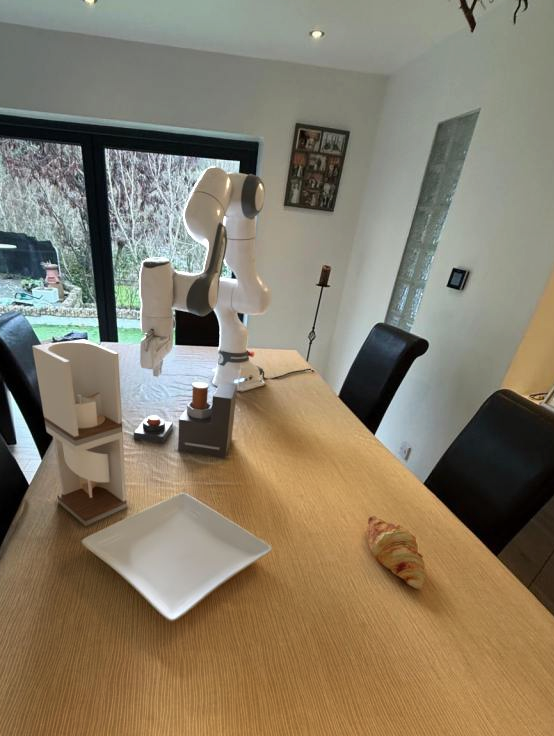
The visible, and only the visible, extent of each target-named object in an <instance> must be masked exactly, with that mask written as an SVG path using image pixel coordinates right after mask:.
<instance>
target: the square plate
mask: <svg viewBox="0 0 554 736" xmlns="http://www.w3.org/2000/svg"><path fill="white" fill-rule="evenodd" d="M81 543H82V545H83V546H84V547H85V548H86V549H87V550H88V551H90V552H91V553H92V554H94V555H95V556H96V557H98V558H99V559H100V560H102V561H103V562H104V563H105V564H107V565H108V566H109V567H110V568H111V569H113V570H114V571H115V572H116V573H118V575H120V576H121V577H122V578H123V579H124V580H125V581H126V582H127V583H128V584H129V585H130V586H131V587H132V588H133V589H134V590H136V592H138V594H139V595H140V596H141V597H142V598H144V599H145V600H146V602H148V604H149V605H151V607H152V608H153V609H155V610H156V611H157V613H159V614H160V615H161V616H162V617H163V618H165V619H166V620H167V621H169V622H174V621H176V620H178V619H180V618H181V617H183V616H184V615H185V614H187V613H188V612H189V611H191V610H192V609H193V608H194V607H195V606H197V605H198V604H199V603H200V602H201V601H203V600H204V599H205V598H206V597H208V596H209V595H210V594H211V593H213V592H214V591H215V590H216V589H218V588H219V587H220V586H221V585H223V584H224V583H226V582H227V581H228V580H230V579H232V578H233V577H234V576H236V575H237V574H238V573H240V572H242V571H244V570H245V569H246V568H248V567H249V566H251V565H253V564H255V563H256V562H258V561H259V560H260V559H262V558H263V557H265V556H267V555H268V554H270V553H271V551H272V550H273V546H271V544H269V543H267V542H266V541H265V540H263V539H261V538H260V537H258V536H256V535H255V534H253V533H251V532H250V531H249V530H247V529H246V528H244V527H242V526H240V525H239V524H238V523H236V522H234V521H232V520H231V519H229V518H228V517H226V516H224V515H223V514H221V513H219V512H218V511H217V510H215V509H213V508H211V507H210V506H208V505H207V504H205V503H204V502H202V501H200V500H199V499H198V498H197V499H196V498H195V497H193V496H192V495H190V494H188V493H186V492H180V493H177V494H175V495H173V496H171V497H168V498H167V499H165V500H162V501H160V502H158V503H155V504H153V505H151V506H149V507H147V508H144V509H143V510H141V511H139V512H136V513H134V514H132V515H130V516H127V517H125V518H123V519H121V520H119V521H117V522H114V523H112V524H111V525H109V526H107V527H104V528H103V529H100V530H98V531H96V532H94V533H92V534H90V535H88V536H86V537H84V538H83V539H81Z"/></svg>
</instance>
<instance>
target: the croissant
mask: <svg viewBox="0 0 554 736" xmlns="http://www.w3.org/2000/svg"><path fill="white" fill-rule="evenodd" d="M367 524H368V526H367V529H366V534H367V535H366V536H367V545H368V546H369V548H370V552H371V554H372V555H373V556H374V557H375V559H376V560H377V561H378V562H379V564H381V565H382V566H384V567H385V568H387V569H389V570H390V571H391V573H392V574H394V575H395V576H398V577H399V578H400V579H403V580H404V581H405V583H406V584H407V585H408V586H410V587H412V588H414V589H418V590H419V589H420V590H421V589H422V588H423V587H424V584H425V580H426V572H425V571H424V570H425V562H424V561H425V560H424V556H423V555H422V553H420V552H419V545H418V542H417V538H416V536H414V535H413V533H412V532H411V531H409V530H408V529H407V528H405V527H404V526H402V525H400V524H399V525H395V524H394V523H392V522H387V521H385V520H384V519H381V518H378V517H377V516H375V515H371V516H369V518H368V521H367Z"/></svg>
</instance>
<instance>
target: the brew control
mask: <svg viewBox="0 0 554 736" xmlns="http://www.w3.org/2000/svg"><path fill="white" fill-rule="evenodd" d="M173 426H174V422H173V421H166V420H164V419H163V418H160V424H157V425H151V424H148V417H147V418H146V417H145V418H144V419H143V421H142V422H141V423H140V424H139V425H138V426H137V428H136V429H135V430H134V432H133V439H134V440H138V441H144V442H145V441H146V442H151V443H158V444H164V443H165V441H166V440H167V438H168V436H169V435H170V433H171V432H172V431H173Z"/></svg>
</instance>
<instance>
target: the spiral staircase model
mask: <svg viewBox="0 0 554 736" xmlns="http://www.w3.org/2000/svg"><path fill="white" fill-rule="evenodd" d="M31 347H32V354H33V359H34V366H35V371H36V376H37V384H38V390H39V395H40V400H41V407H42V413H43V414H42V415H43V418H44V424H45V425H44V426H45V429H46V430H45V431H46V433H47V434H49V435H50V436H52V439H53V446H54V453H55V459H56V466H57V471H58V478H59V483H60V491H61V493H59V494H57V502H58V504H59V505H60V506H62V507H63V508H64V509H65V510H66V511H68V512H69V514H71V515H72V516H73V517H75V518H76V519H77V520H78V521H79V522H81V523H82V524H83V525H84V526H85V527H86V526H87V527H88V526H89V525H91V524H93V523H96V522H97V521H100V520H103V519H104V518H107V517H109V516H111V515H113V514H116V513H117V512H120V511H122V510H124V509H126V508H128V504H127V485H126V468H125V450H124V448H125V447H124V432H123V414H122V397H121V396H122V395H121V380H120V379H121V378H120V361H119V360H120V359H119V353H118V352H116V351H114V350H112V349H110V348H107V347H104V346H102V345H99V344H97V343H95V342H92V341H90V340H87V339H86V338H82V339H74V340H66V341H59V342H51V343H43V344H36V345H32V346H31Z"/></svg>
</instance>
